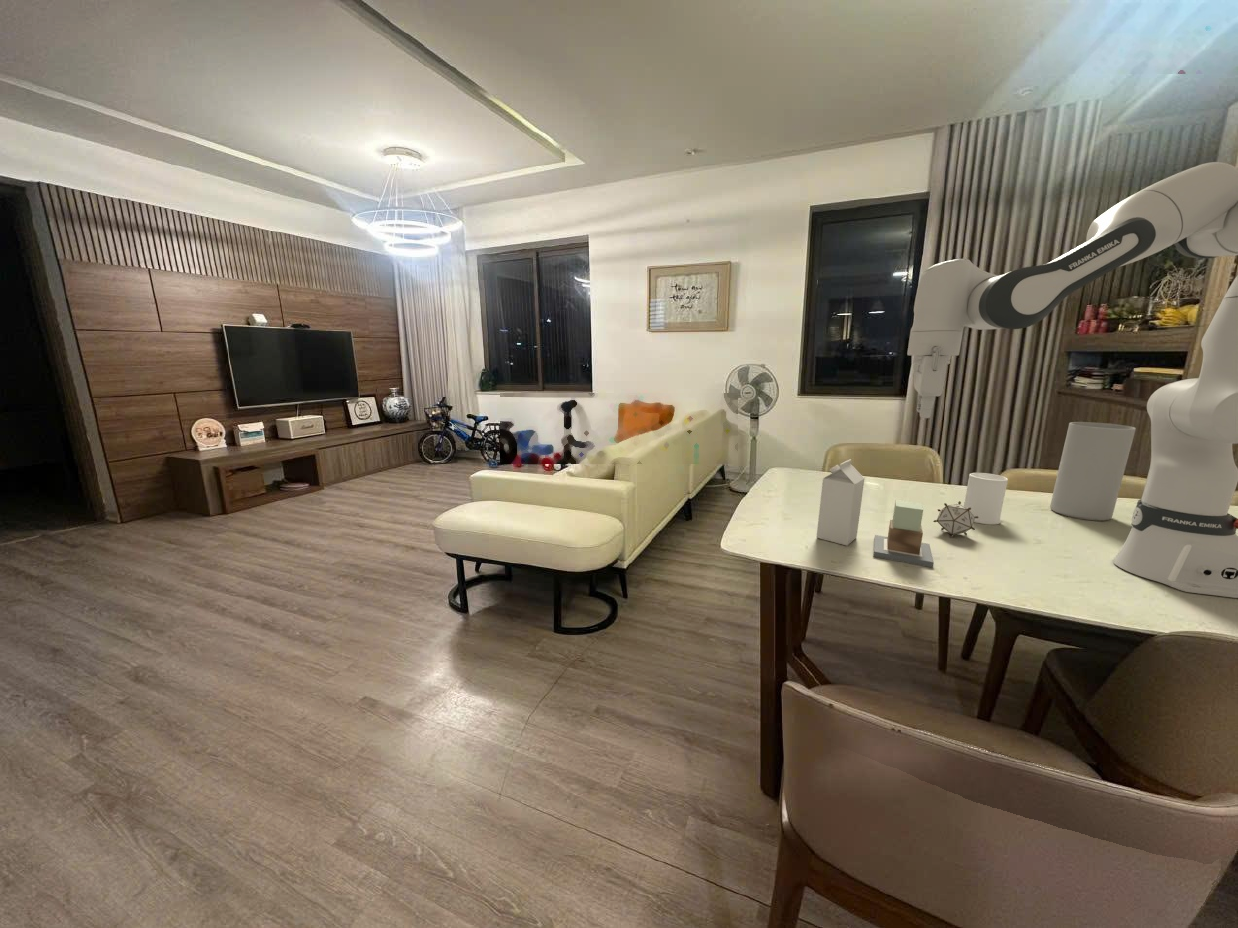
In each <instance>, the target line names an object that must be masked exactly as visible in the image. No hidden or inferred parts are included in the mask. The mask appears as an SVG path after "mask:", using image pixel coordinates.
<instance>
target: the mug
mask: <svg viewBox="0 0 1238 928" xmlns="http://www.w3.org/2000/svg"><path fill="white" fill-rule="evenodd" d="M1008 481H1009V480H1008V478H1007V477H1005V476H1003V475H999V474H994V473H988V472H987V473H986V472H972V473H969V476H968V480H967V486H966V490H965V491H966V492H965V496H964V503H963V507H965V508H967V509H968V508H971V510H969V511H970V512H971V513H972V514H973V516H974V517H975V516H978V518H975V519H974V523H976V524H981V525H991V526H992V525H994V526H995V525H998V524H999V525H1000V523H1001V515H1002V510H1003V505H1004V501H1005V496H1006V491H1007V486H1008Z"/></svg>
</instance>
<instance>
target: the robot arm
mask: <svg viewBox="0 0 1238 928" xmlns="http://www.w3.org/2000/svg"><path fill="white" fill-rule="evenodd" d="M1085 239H1086V241H1085V242H1083V243H1082V244H1080V245H1078V246H1076V247H1074V248H1073V249H1071V250H1069V251H1068V252H1065V253H1064V254H1062V255H1060V256H1058V257H1057V258H1055V259H1053V260H1051V261H1050V262H1047V263H1044V264H1040V265H1031V266H1025V267H1019V268H1017V269H1013V270H1012V271H1009V272H1006V273H1004V274H999V275H998V274H994V273H990V272H987V271H986V270H983V269H981V268H980V267H978V266H977V265H975V264H974V263H972V261H971V260H970V259H968V258H967V259H966V258H957V259H952V260H946V261H943V262H939V263H936V264H934V265H931V266H930V267H928V268H927V269H925V271H923V273H922V275H921V276H920V278H919V279H920V280H919V283H918V286H917V290H916V295H915V299H914V303H913V304H914V305H913V314H914V320H913V323H912V327H911V328H910V332H909V340H908V346H907V347H908V348H907V353H906V354H907V356H913V360H912V361H913V362H912V364H914V365H913V367H914V369H913V387H914V390H915V391H916V392H917V406H916V412H917V413H919V417H920V418H922V419H930V418H931V415H932V411H933V407H934V403H935V400H936V397H940V396H942V395H943V392H944V391H943V390H944V384H945V380H946V372H947V371H946V370H947V365H950V364H951V357H952V356H957V357H958V356H959V355H960V351H961V346H962V341H963V334H964V328H970V329H973V330H980V331H981V330H985V331H986V330H1000V329H1007V330H1020V329H1025V328H1029V327H1031V326H1034V325H1036V324H1037V323H1039V322H1041V321H1042V320H1043V319H1044V318H1046V317H1047V316H1048V315H1050V313H1051V312H1052V311H1053V310H1054V309H1056V307H1057V306H1058V305H1059V304H1060V303H1061V302H1062V301H1063V300H1064V299H1066V298H1067V297H1068V296H1070V295H1071V294H1072V293H1074V292H1076V291H1078V290H1079V289H1081V288H1082V287H1083V288H1084V287H1085V286H1086V285H1088V284H1090V283H1091V282H1093V281H1095V280H1097V279H1099V278H1101V277H1103V276H1105V275H1107V274H1108V273H1110V272H1112V271H1114V270H1115V269H1117V268H1119V267H1122V266H1126V265H1129V264H1133V263H1136V262H1137V261H1140V260H1143V259H1144V258H1147V257H1150V256H1152V255H1154V254H1156V253H1158V252H1160V251H1162V250H1164V249H1165V250H1166V249H1167V248H1169V247H1171V246H1173V247H1174V249H1175V250H1176V251H1177V252H1178V253H1179V254H1181V255H1183V256H1185V257H1188V258H1192V259H1193V258H1194V259H1213V258H1219V257H1235V256H1238V168H1237V167H1236V166H1234V165H1233V164H1229V163H1227V162H1221V161H1212V162H1206V163H1202V164H1199V165H1198V164H1197V165H1196V166H1193V167H1190V168H1188V169H1185V170H1182V171H1179V172H1178V173H1175V174H1173V175H1170V176H1168V177H1165V178H1164V179H1162V180H1159V181H1157V182H1155V183H1153V184H1150V185H1149V186H1146V187H1145V188H1143V189H1141V190H1139V191H1138V192H1135V193H1134V194H1132V195H1129V196H1128V197H1126V198H1125V199H1123V200H1120V202H1118V203H1116V204H1115V205H1113V206H1112V207H1110V208H1109V209H1107V210H1105V212H1103V213H1102V214H1100V215H1098V217H1097V218H1095V219H1094V220H1093V221H1092V222H1091V224H1090V225H1089V228H1088V230H1087V234H1086V238H1085ZM1200 347H1201V349H1202V352H1203V353H1202V362H1201V368H1200V372H1199V376H1198V377H1197V378H1188V379H1187V378H1186V379H1183V380H1182V379H1181V380H1177V381H1174V382H1170V383H1167V384H1165V385H1163V386H1161V387H1159V388H1158V389H1157V390H1155V391H1154V392H1153V393H1152V394H1151V395H1150V397H1149V398H1148V400H1147V403H1146V410H1147V411H1146V412H1147V414H1148V416H1149V419H1150V425H1151V426H1150V442H1151V443H1150V444H1151V445H1150V447H1151V455H1150V464H1149V465H1150V466H1149V470H1148V474H1147V477H1146V481H1145V485H1144V488H1143V493H1142V496H1141V498H1140V499H1137V503H1136V506H1135V508H1134V510H1133V512H1132V518H1131V529H1130V531H1129V533H1128V536H1127V537H1126V539H1125V541H1124V543H1123V545H1122V546H1121V548H1120V550H1119V551H1118V552H1117V554H1116V555H1115V556H1114V557H1113V558H1112V562H1113V564H1114V565H1116V566H1117V567H1119V568H1120V569H1123V570H1124V571H1126V572H1129V573H1131V574H1134V575H1136V576H1139V577H1142V578H1145V579H1148V580H1151V581H1154V582H1157V583H1161V584H1164V585H1166V586H1169V587H1171V588H1173V589H1176V590H1179V591H1182V592H1186V593H1193V594H1200V595H1210V596H1215V597H1216V596H1219V597H1226V598H1234V599H1238V535H1237V532H1236V531H1237V530H1238V517H1235V516H1234V515H1232V514H1230V513H1229V510H1230V507H1231V505H1232V502H1233V497H1234V495H1235V492H1236V488H1237V485H1238V466H1237V465H1236V463H1235V459H1234V458H1235V457H1234V453H1233V452H1234V451H1233V445H1234V444H1236V445H1237V444H1238V274H1237V275H1236V277H1235V278H1234V279H1233V281H1232V282H1231V285H1229V287H1228V289H1227V291H1226V293H1225V295H1224V297H1223V298H1222V300H1221V303H1220V304H1219V306H1218V308H1217V310H1216V311H1215V313H1214V316H1213V318H1212V319H1211V322H1210V324H1209V326H1208V327H1207V329H1206V331H1205V333H1204V334H1203V337H1202V338H1201V342H1200Z"/></svg>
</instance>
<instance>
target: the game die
mask: <svg viewBox="0 0 1238 928" xmlns="http://www.w3.org/2000/svg"><path fill="white" fill-rule="evenodd" d="M957 503H958V504H957ZM957 503H956V504H949V505H948V504H947V503H946V502H944V504H943V505H944V507H943V508H942V509H939V508H938V509H936V510H937V512H939V514H938V516H937V519H934V520H933V521H932V522H934V523H938V524H939V526H941V530H940V531H946V532H947V533H948V534H950V538H953V537H954V536H955V535H960V534H964V536H967V535H968V533H967V532H969V531H970V530H972V531H976V528H975V527H974V526H973V525H974V523H975V522H974V519H975V518H978V516H975V517H974V516H973V514H972V513H971V512H970V511H969V510H971V508H968V509H967V508H965V507H964V505H962V502H961V501H958V502H957Z"/></svg>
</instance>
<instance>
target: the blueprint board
mask: <svg viewBox="0 0 1238 928" xmlns="http://www.w3.org/2000/svg"><path fill="white" fill-rule="evenodd" d="M887 539H888V536H884V535H878V534H874V539H873V555H872V556H873V557H874V558H879V559H885V560H891V561H896V562H900V563H906V564H910V565H911V564H912V565H915V566H922V567H928V568H934V563H935V562H934V558H933V557H934V556H933V555H932V554H933V553H932V550H931V545H930V543H925V542H921V548H920V554H919V555H917V554H911V553H905V552H900V551H894V550H889V549H887Z"/></svg>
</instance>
